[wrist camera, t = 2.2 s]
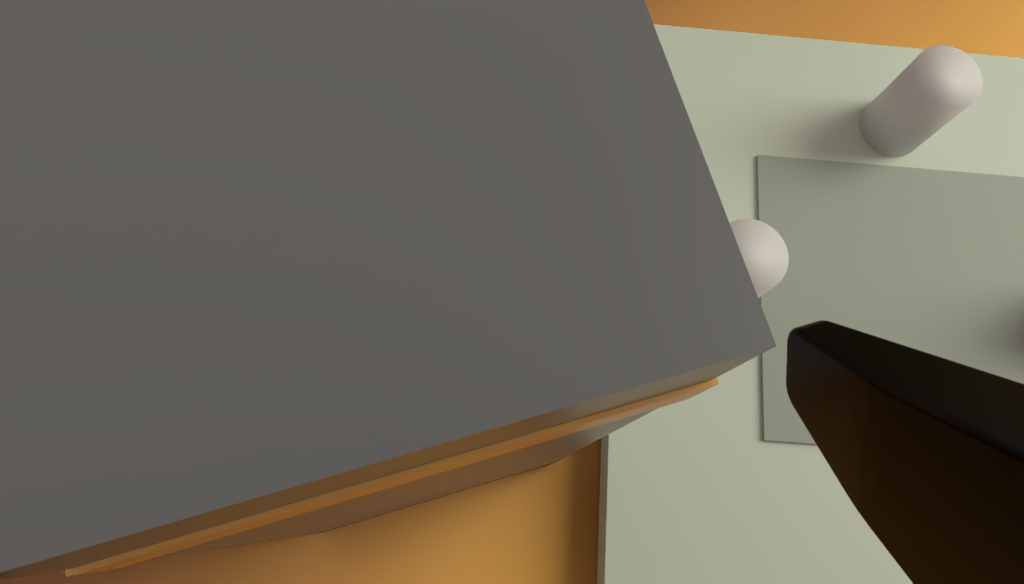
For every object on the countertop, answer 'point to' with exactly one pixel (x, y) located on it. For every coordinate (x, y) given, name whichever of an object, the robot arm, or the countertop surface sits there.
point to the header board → (822, 288)
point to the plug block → (335, 261)
